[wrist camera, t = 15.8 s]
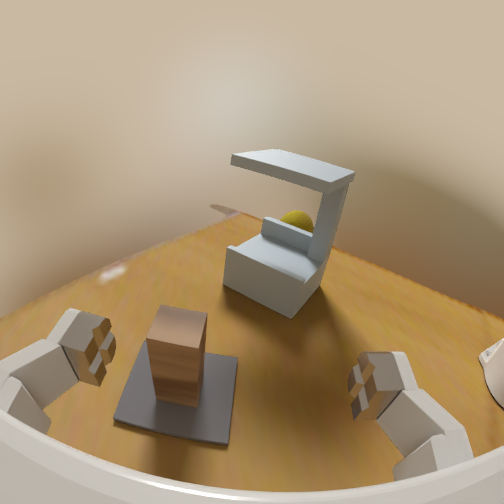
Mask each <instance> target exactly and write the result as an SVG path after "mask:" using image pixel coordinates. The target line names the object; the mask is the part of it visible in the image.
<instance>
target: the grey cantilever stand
mask: <svg viewBox="0 0 504 504" xmlns="http://www.w3.org/2000/svg"><path fill="white" fill-rule="evenodd" d="M231 165H234V166H237V167H241V168H244V169H248V170H252V171H255V172H258V173H262V174H265V175H269V176H272V177H275V178H279V179H282V180H285V181H288V182H291V183H294V184H298V185H301V186H304V187H307V188H310V189H313V190H316V191H319V192H322V193H323V195H322V199H321V203H320V208H319V212H318V216H317V220H316V224H315V228H314V231H313V234H312V233H310V232H307V231H305V230H302V229H300V228H297V227H295V226H292V225H289V224H287V223H284V222H282V221H279V220H276V219H274V218H271V217H268V216H267V217H265V218H264V219H263V224H262V230H261V233H260V234H259V235H257V236H255V237H253V238H252V239H250V240H248V241H246V242H245V243H243V244H241V245H239V246H238V247H234V246H232V245H230V246H228V247H227V252H226V260H225V269H224V277H223V284H224V285H226V286H227V287H229V288H231V289H233V290H235V291H237V292H239V293H241V294H243V295H245V296H247V297H248V298H250V299H252V300H254V301H256V302H258V303H260V304H262V305H264V306H266V307H268V308H270V309H272V310H274V311H276V312H278V313H280V314H282V315H284V316H286V317H288V318H290V319H292V318H293V317H294V316H295V315H296V313H297V312H298V311H299V310H300V309H301V307H302V306H303V305H304V304H305V303H306V301H307V300H308V299H309V298H310V297H311V295H312V294H313V293H314V292H315V290H316V289H317V288H318V287H319V286H320V283H321V280H322V277H323V274H324V271H325V267H326V264H327V261H328V258H329V254H330V251H331V248H332V245H333V241H334V238H335V234H336V231H337V227H338V224H339V220H340V217H341V213H342V209H343V206H344V202H345V198H346V194H347V191H348V186H349V183H350V182H352V181H353V180H354V176H355V172H354V171H351V170H348V169H345V168H342V167H339V166H335V165H332V164H329V163H325V162H322V161H319V160H316V159H312V158H309V157H305V156H301V155H297V154H294V153H290V152H287V151H282V150H279V149H273V150H263V151H254V152H245V153H237V154H232V158H231Z"/></svg>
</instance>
